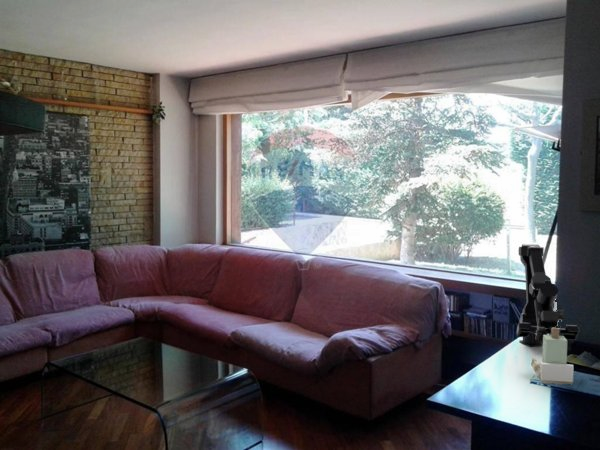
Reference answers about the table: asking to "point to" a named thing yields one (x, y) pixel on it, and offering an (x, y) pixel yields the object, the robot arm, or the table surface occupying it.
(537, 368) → the birch rail
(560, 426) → the table surface
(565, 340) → the sliding block
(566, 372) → the wall
